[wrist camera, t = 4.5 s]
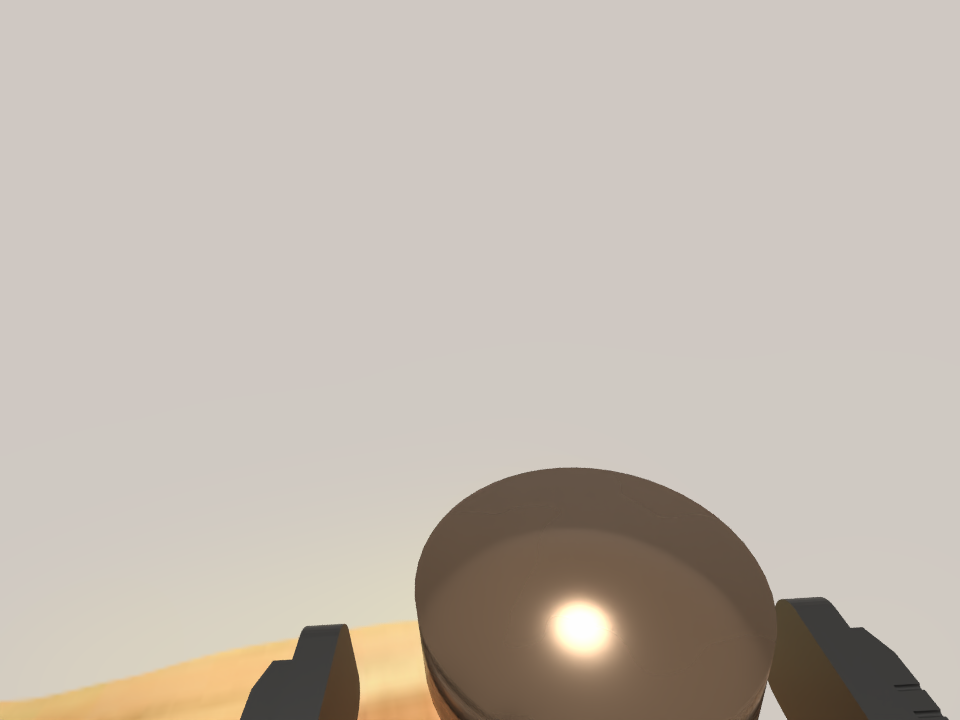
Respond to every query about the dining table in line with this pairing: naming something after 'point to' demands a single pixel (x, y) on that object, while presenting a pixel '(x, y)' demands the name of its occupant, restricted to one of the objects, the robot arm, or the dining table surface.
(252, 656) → the dining table surface
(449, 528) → the plunger
